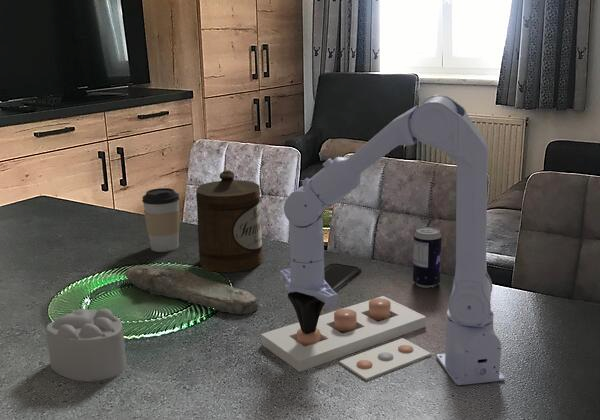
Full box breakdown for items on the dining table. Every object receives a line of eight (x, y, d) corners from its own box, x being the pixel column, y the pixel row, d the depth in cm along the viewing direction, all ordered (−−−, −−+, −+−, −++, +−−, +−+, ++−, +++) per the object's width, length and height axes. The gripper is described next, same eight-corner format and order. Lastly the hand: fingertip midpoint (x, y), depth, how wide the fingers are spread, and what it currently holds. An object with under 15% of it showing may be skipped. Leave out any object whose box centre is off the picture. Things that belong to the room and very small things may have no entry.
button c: (311, 337, 121) (311, 324, 120) (324, 346, 118) (324, 333, 117) (292, 344, 119) (292, 330, 118) (305, 352, 116) (305, 339, 115)
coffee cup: (143, 245, 174) (137, 188, 170) (177, 239, 178) (173, 183, 174) (151, 255, 166) (146, 196, 162) (187, 249, 170) (183, 191, 166)
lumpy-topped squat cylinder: (93, 342, 123) (87, 298, 120) (142, 362, 115) (137, 315, 113) (42, 366, 115) (35, 319, 112) (91, 389, 107) (85, 339, 105)
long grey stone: (238, 329, 130) (269, 313, 138) (239, 303, 128) (270, 288, 137) (112, 284, 148) (146, 272, 156) (111, 261, 147) (145, 250, 155)
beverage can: (439, 290, 142) (441, 235, 138) (412, 288, 143) (413, 234, 140) (439, 279, 147) (441, 226, 144) (413, 278, 148) (414, 225, 145)
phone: (362, 267, 153) (332, 291, 141) (362, 272, 153) (332, 296, 141) (331, 262, 157) (299, 284, 144) (331, 267, 157) (299, 289, 145)
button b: (347, 319, 125) (347, 307, 124) (361, 327, 122) (361, 314, 121) (329, 325, 123) (329, 312, 122) (343, 333, 120) (343, 320, 119)
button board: (383, 305, 135) (383, 295, 135) (425, 326, 125) (426, 316, 125) (261, 344, 120) (261, 334, 120) (299, 372, 111) (299, 361, 110)
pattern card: (402, 340, 121) (402, 337, 120) (430, 355, 115) (430, 352, 115) (339, 363, 113) (339, 359, 113) (366, 380, 108) (366, 377, 107)
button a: (380, 308, 129) (380, 296, 129) (394, 316, 126) (395, 303, 125) (364, 314, 127) (364, 301, 126) (378, 321, 124) (378, 309, 123)
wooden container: (255, 274, 153) (251, 178, 147) (191, 271, 155) (185, 177, 149) (268, 252, 167) (265, 164, 161) (210, 250, 169) (204, 163, 163)
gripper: (264, 250, 118) (267, 322, 121) (311, 275, 106) (313, 354, 110) (298, 242, 121) (300, 312, 125) (347, 265, 110) (348, 342, 114)
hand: (308, 331), depth 118 cm, fingers closed
